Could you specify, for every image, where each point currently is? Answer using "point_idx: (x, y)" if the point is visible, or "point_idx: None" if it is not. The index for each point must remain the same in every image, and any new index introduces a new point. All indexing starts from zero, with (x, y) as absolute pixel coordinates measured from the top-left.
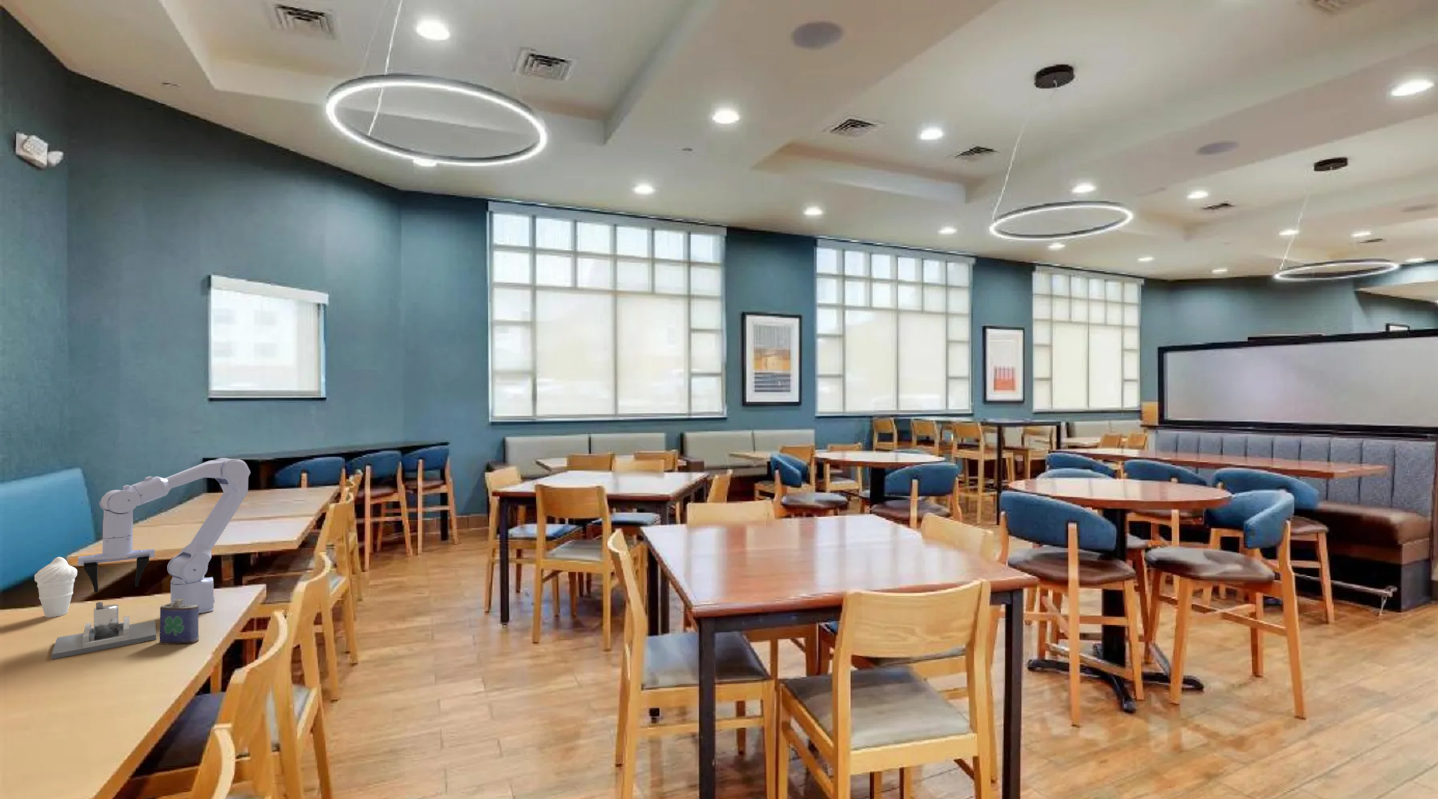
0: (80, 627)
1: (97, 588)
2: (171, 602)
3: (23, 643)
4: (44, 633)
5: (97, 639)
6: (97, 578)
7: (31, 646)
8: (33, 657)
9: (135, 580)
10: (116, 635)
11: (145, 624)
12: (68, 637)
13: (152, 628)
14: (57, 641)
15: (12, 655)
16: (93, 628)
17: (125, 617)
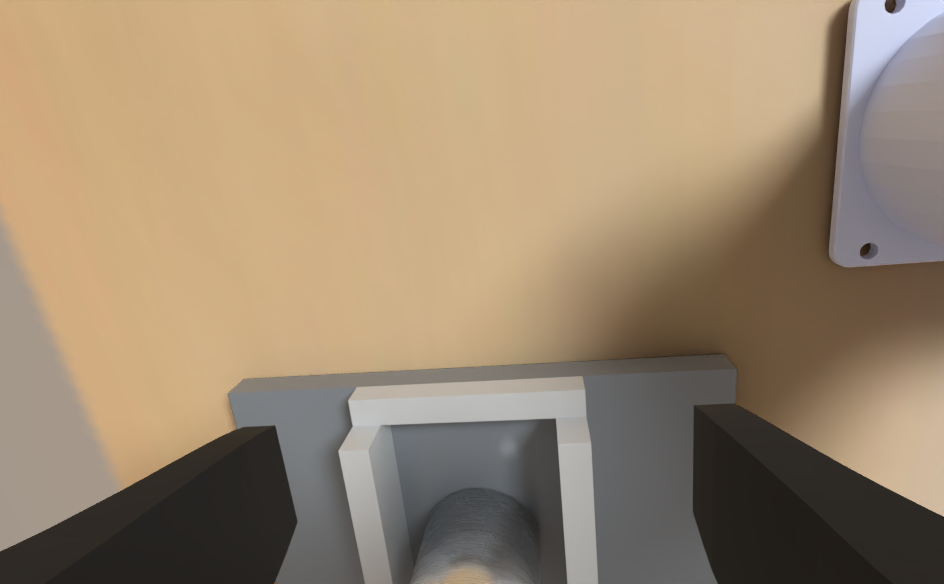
0: (272, 73)
1: (272, 577)
2: (933, 178)
3: (69, 272)
4: (92, 91)
5: None
6: (151, 578)
7: (139, 368)
8: None
9: (730, 552)
10: None
11: (677, 437)
12: (289, 434)
13: None
14: None
15: (115, 475)
16: (392, 421)
17: (569, 464)
